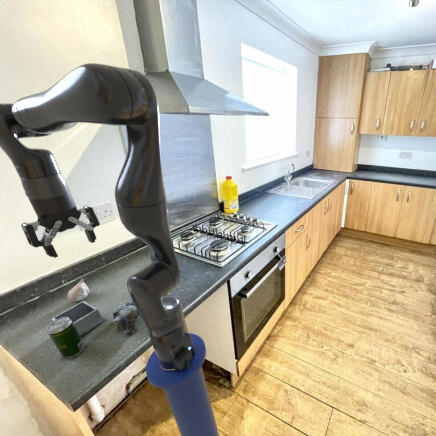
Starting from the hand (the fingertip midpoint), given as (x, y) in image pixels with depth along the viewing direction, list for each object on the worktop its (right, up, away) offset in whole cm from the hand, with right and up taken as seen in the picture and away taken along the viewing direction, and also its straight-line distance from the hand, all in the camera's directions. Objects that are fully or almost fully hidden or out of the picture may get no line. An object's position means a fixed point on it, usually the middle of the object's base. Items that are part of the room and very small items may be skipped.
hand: (74, 248), depth 64 cm
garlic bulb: (-25, -24, +30) cm, 46 cm away
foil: (+2, -28, +21) cm, 35 cm away
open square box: (-14, -30, +17) cm, 37 cm away
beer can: (-9, -34, +9) cm, 36 cm away
